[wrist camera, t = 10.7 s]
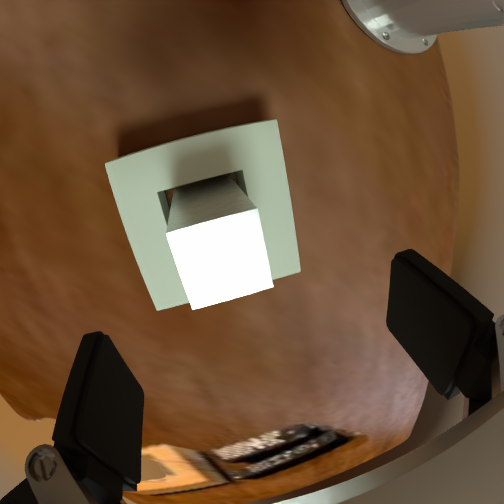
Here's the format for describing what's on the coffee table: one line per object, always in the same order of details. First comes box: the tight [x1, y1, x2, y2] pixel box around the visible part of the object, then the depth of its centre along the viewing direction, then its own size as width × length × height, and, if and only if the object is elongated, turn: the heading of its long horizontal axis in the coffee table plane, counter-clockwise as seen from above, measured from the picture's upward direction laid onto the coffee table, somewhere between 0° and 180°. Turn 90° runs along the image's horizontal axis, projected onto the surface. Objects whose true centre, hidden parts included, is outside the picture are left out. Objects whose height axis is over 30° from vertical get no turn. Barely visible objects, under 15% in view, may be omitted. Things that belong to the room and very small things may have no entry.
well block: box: [105, 119, 301, 311], centre depth 23 cm, size 12×12×4 cm
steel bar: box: [166, 174, 273, 309], centre depth 20 cm, size 4×4×11 cm
